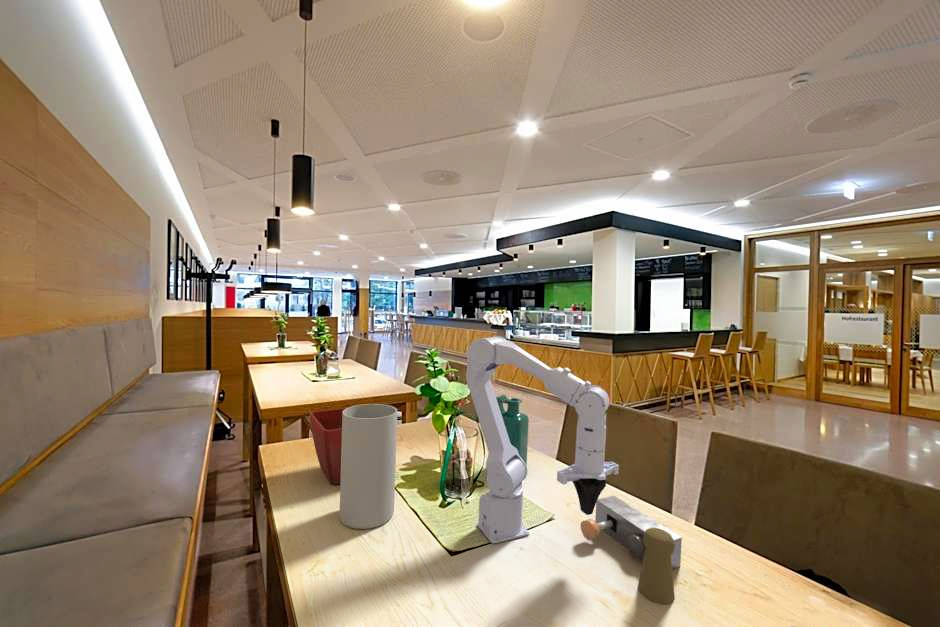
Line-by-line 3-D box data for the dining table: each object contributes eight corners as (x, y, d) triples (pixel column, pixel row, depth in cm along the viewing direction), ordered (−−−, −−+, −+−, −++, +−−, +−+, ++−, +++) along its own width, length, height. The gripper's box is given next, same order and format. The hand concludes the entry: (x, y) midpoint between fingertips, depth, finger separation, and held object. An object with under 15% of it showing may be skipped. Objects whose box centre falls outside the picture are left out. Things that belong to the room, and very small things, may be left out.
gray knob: (639, 560, 77) (640, 542, 77) (625, 549, 81) (626, 532, 81) (663, 552, 80) (664, 535, 80) (649, 542, 84) (650, 525, 84)
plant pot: (391, 478, 112) (393, 420, 111) (323, 494, 101) (324, 430, 101) (368, 455, 128) (370, 404, 127) (307, 467, 117) (308, 412, 116)
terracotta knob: (591, 543, 83) (592, 526, 82) (580, 533, 86) (581, 517, 86) (616, 535, 86) (617, 519, 85) (604, 527, 89) (605, 511, 89)
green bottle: (528, 466, 123) (531, 398, 123) (517, 476, 116) (520, 403, 116) (501, 459, 129) (504, 393, 128) (488, 467, 121) (491, 398, 121)
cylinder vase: (404, 509, 95) (407, 408, 95) (371, 536, 84) (374, 422, 83) (363, 497, 100) (366, 401, 100) (327, 521, 89) (330, 413, 88)
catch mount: (660, 573, 76) (662, 543, 75) (595, 524, 92) (596, 499, 92) (680, 566, 78) (681, 537, 78) (612, 519, 94) (613, 495, 94)
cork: (679, 607, 67) (682, 545, 67) (642, 600, 68) (645, 539, 68) (668, 583, 73) (671, 525, 73) (634, 577, 74) (637, 520, 74)
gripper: (574, 458, 73) (570, 530, 73) (631, 449, 79) (627, 515, 79) (552, 445, 79) (548, 510, 80) (606, 438, 85) (602, 498, 86)
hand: (586, 512), depth 80 cm, fingers closed
